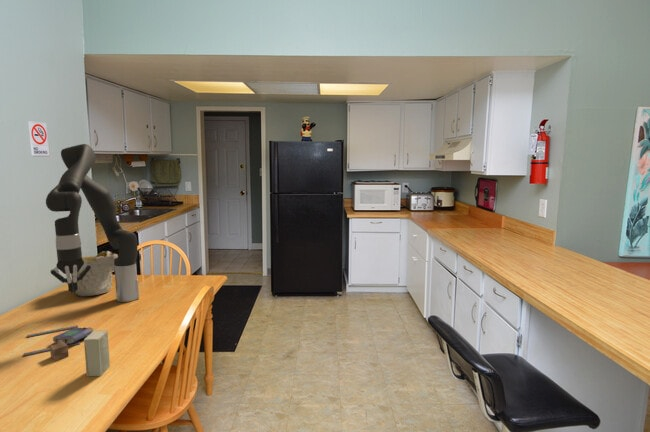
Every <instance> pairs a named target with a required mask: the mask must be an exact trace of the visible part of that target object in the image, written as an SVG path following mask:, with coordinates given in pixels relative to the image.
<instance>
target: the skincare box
mask: <svg viewBox="0 0 650 432" xmlns="http://www.w3.org/2000/svg"><path fill="white" fill-rule="evenodd" d="M108 332H109V331H108V330H93V332H92V333H91V334H90V335H88V336H86V337H84V338H83V343H84V356H85V357H84V359H85V371H86V372H85V373H86V377H102V376H103V374H104V373H105V372H106V371H107V370H108V369H109V368H110V366H111V362H110V349H109V333H108Z"/></svg>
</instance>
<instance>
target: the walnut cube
mask: <svg viewBox="0 0 650 432" xmlns="http://www.w3.org/2000/svg"><path fill="white" fill-rule="evenodd" d="M49 348H50V351H49V352H50V358H51V359H52V360H53V361H54V362H57V361H59V360H62V359H65V358H67V357H68V358H69V357H70V356H69V347H68V345H67V344H66V343H64V342H62V343H55V344H52V345H50V346H49Z"/></svg>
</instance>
